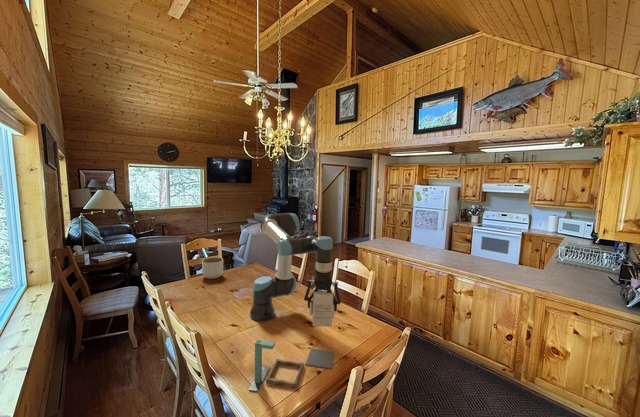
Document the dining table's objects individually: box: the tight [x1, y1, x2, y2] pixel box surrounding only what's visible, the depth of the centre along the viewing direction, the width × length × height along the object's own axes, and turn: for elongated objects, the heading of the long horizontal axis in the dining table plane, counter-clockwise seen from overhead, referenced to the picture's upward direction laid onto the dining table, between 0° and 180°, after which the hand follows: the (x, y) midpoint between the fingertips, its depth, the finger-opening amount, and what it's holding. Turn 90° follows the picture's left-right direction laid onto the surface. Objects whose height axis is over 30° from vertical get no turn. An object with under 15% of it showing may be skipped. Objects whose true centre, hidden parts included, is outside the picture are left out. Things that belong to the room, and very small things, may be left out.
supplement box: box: [311, 287, 334, 327], centre depth 125 cm, size 9×9×15 cm
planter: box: [201, 256, 224, 280], centre depth 228 cm, size 17×17×15 cm
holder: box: [265, 358, 305, 390], centre depth 116 cm, size 13×13×2 cm
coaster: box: [305, 347, 335, 370], centre depth 127 cm, size 12×12×1 cm
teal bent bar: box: [254, 339, 275, 383], centre depth 110 cm, size 8×2×17 cm, turn 80°
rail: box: [248, 364, 271, 393], centre depth 113 cm, size 4×14×1 cm, turn 170°
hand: (322, 315), depth 125 cm, fingers closed on supplement box, 10 cm apart
